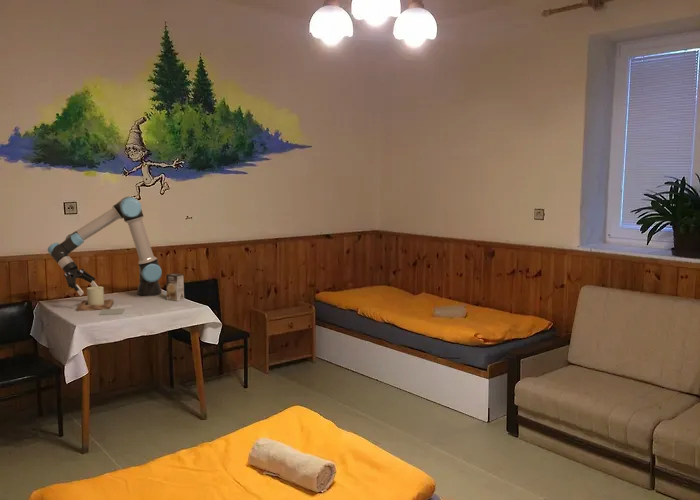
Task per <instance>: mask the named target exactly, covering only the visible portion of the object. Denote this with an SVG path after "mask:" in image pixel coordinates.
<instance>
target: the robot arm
mask: <svg viewBox="0 0 700 500" xmlns="http://www.w3.org/2000/svg"><path fill="white" fill-rule="evenodd" d="M143 219H144V214H143V210H142V204H141V202H140V201H139V200H138V199H137V198H135V197H133V196H125V197H123V198H122V199H120V200H119V201H118V202H116V204H114V205H112V207H111V209H108V211H106V212H104V213H102V214H101V215H99V216H98V217H95V218H94V219H93V220H91V221H90V222H88V223H86V224H85V225H83V226H82V227H80V228H78V229H77V230H75V231H73V232H72V233H70V234H68V235H66V237H65V239H64V240H63V241H62V242H61V243H59V242H54V243H52V244H50V245H49V246H48V247H47V252H48V254H49V255H50V256H51V258H53V260H54V261H55V262H56V263H57V264H58V265H59V266H60V268H61V269H62V270H63V272H64V275H63V276H64V278H65V280H66V283H67V286H68V287H69V288H70V289H74V291H75V292H77V293H78V295H79V296H81V297H82V296H83V295H84V290H82V288H81V287H80V286H79V285H78V284H76V280H77V279H82V280H84V281H86V282H88V283H90V286H91V287H95V286H99V285H98V284H97V283H96V282H95V280H96V278H95V277H94V276H93V275H92V274H90V273H88V272H87V271H85V269H84V268H80V269H78V268H79V267H78V264H77V263H76V262H74V260H73V259H72V258H71V256H70V255H69V254H71V252H73V251H74V250H76V249H77V248H78V247H80V246H81V245H82V244H84V243H85V240H87V239H89V238H90V237H93V236H94V235H96V234H97V233H98V232H101V231H102V230H103V229H105V228H107V227H108V226H110V225H112V224H113V223H114V222H116V221H117V220H123V221H124V222H125V223H127V225H128V228H129V231H130V234H131V238H132V241H133V243H134V246H135V250H136V251H137V252H136V253H137V255H138V258H139V260H138V262H137V263H138V264H137V265H138V271H139V272H138V273H139V274H138V276H139V282H138V283H139V284H138V286H137V292H136V294H137V295H138V296H140V297H141V296H142V297H143V296H144V297H147V296H149V297H150V296H158V295H161V294H162V291H163V290H162V286H161V284H160V282H159V280H160V279H161V277H162V274H163V273H162V272H163V271H162V268H161V265H160V264H159V261H158V257H156V256H154V253H153V249H152V247H151V244H150V240H149V237H148V233H147V231H146V228H145V225H144V222H143Z"/></svg>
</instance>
